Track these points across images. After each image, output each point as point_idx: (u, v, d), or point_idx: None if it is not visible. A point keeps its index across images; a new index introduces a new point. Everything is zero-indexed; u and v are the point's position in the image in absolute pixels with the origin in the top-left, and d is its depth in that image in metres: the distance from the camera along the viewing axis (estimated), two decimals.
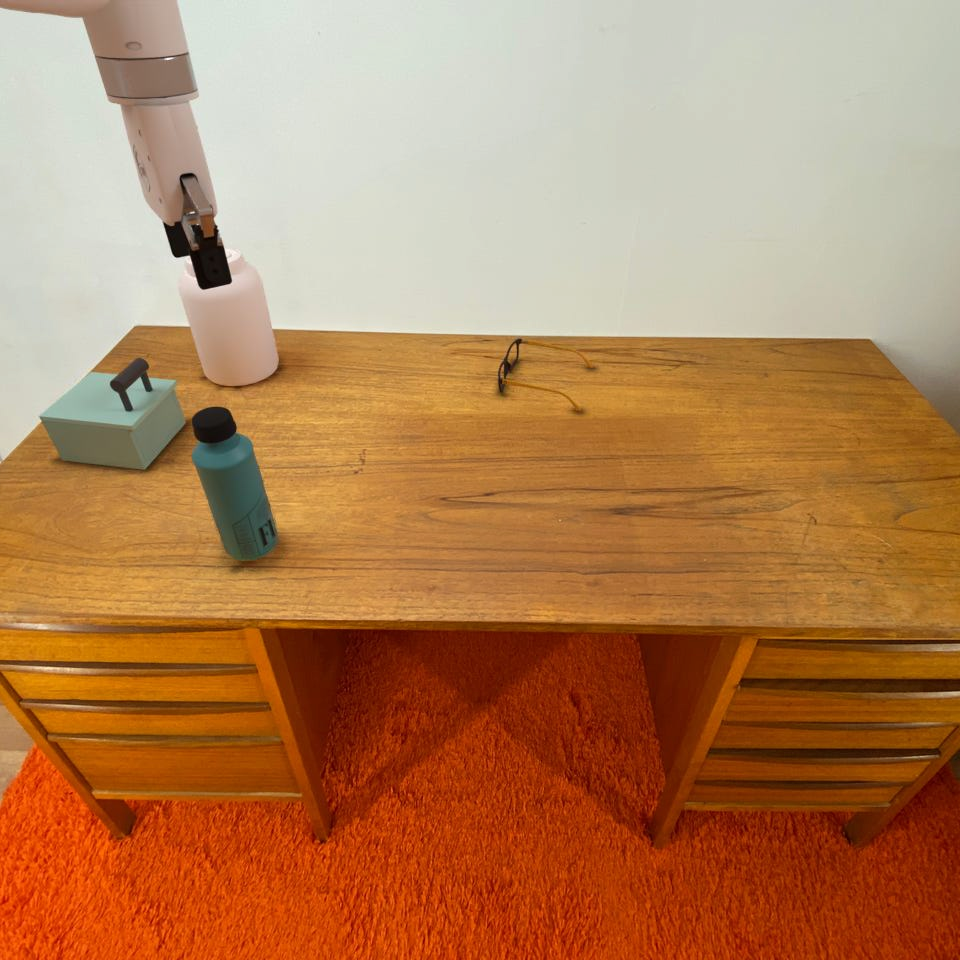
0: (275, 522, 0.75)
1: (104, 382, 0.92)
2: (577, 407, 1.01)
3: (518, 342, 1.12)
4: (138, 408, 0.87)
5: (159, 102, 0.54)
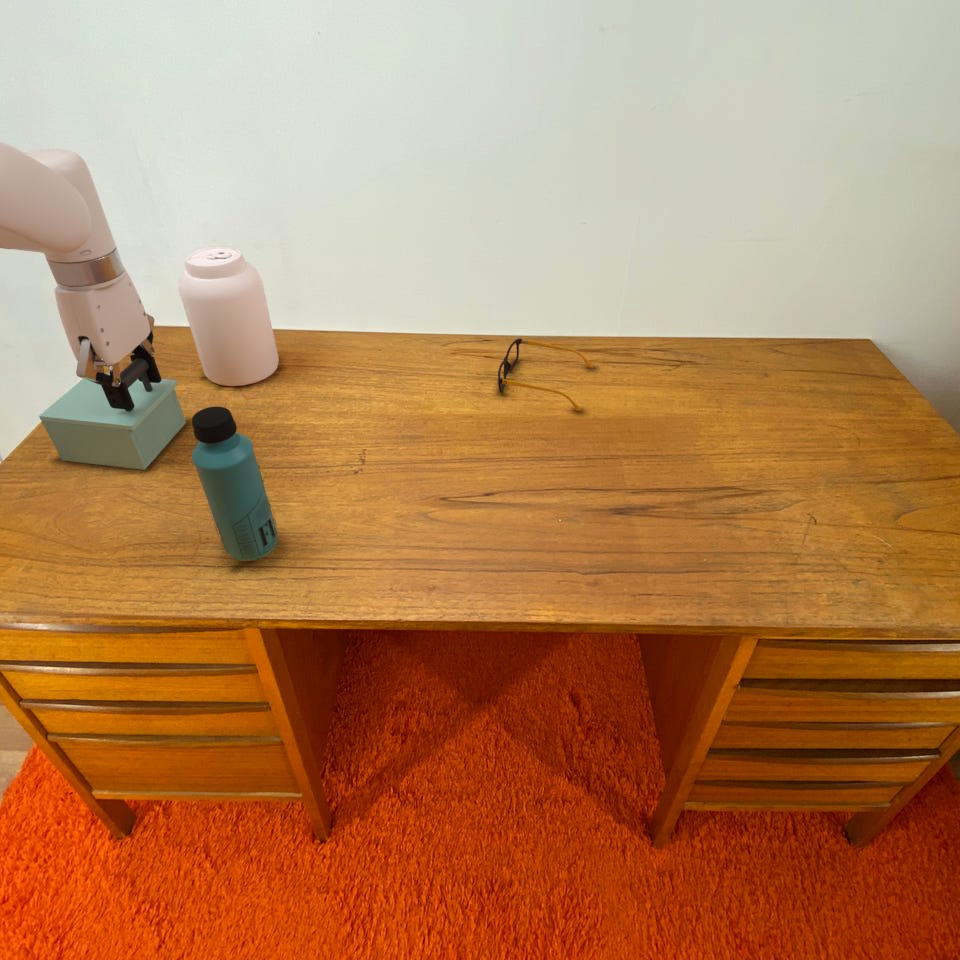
0: (275, 522, 0.75)
1: None
2: (577, 407, 1.01)
3: (518, 342, 1.12)
4: (138, 408, 0.87)
5: (68, 288, 0.74)
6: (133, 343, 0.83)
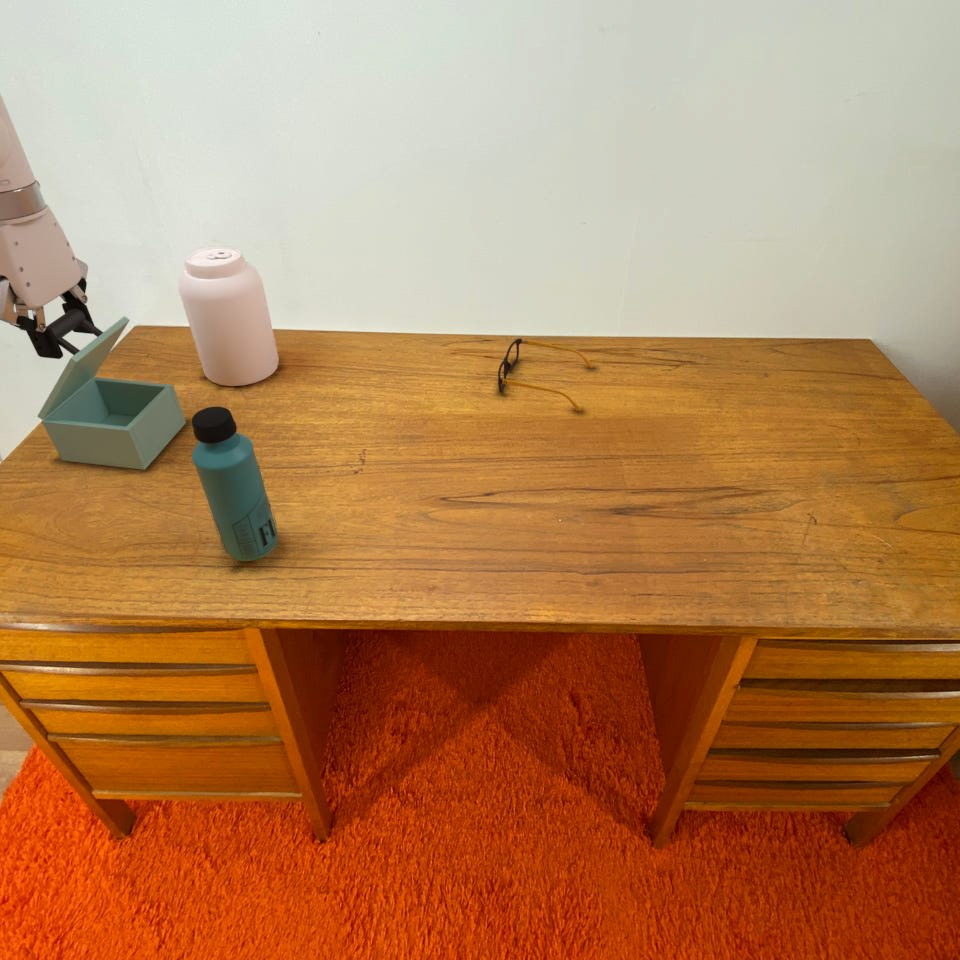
0: (275, 522, 0.75)
1: None
2: (577, 407, 1.01)
3: (518, 342, 1.12)
4: None
5: None
6: (60, 288, 0.79)
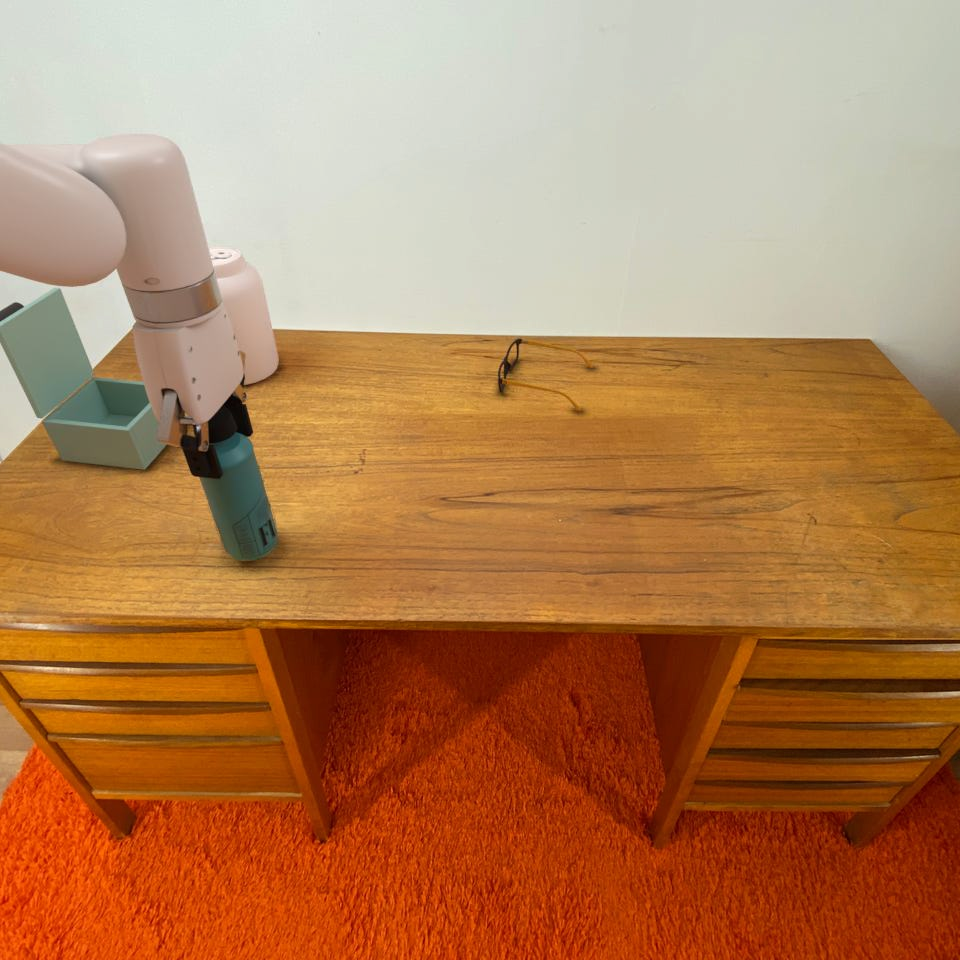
0: (275, 522, 0.75)
1: None
2: (577, 407, 1.01)
3: (518, 342, 1.12)
4: None
5: (151, 326, 0.54)
6: (226, 393, 0.63)
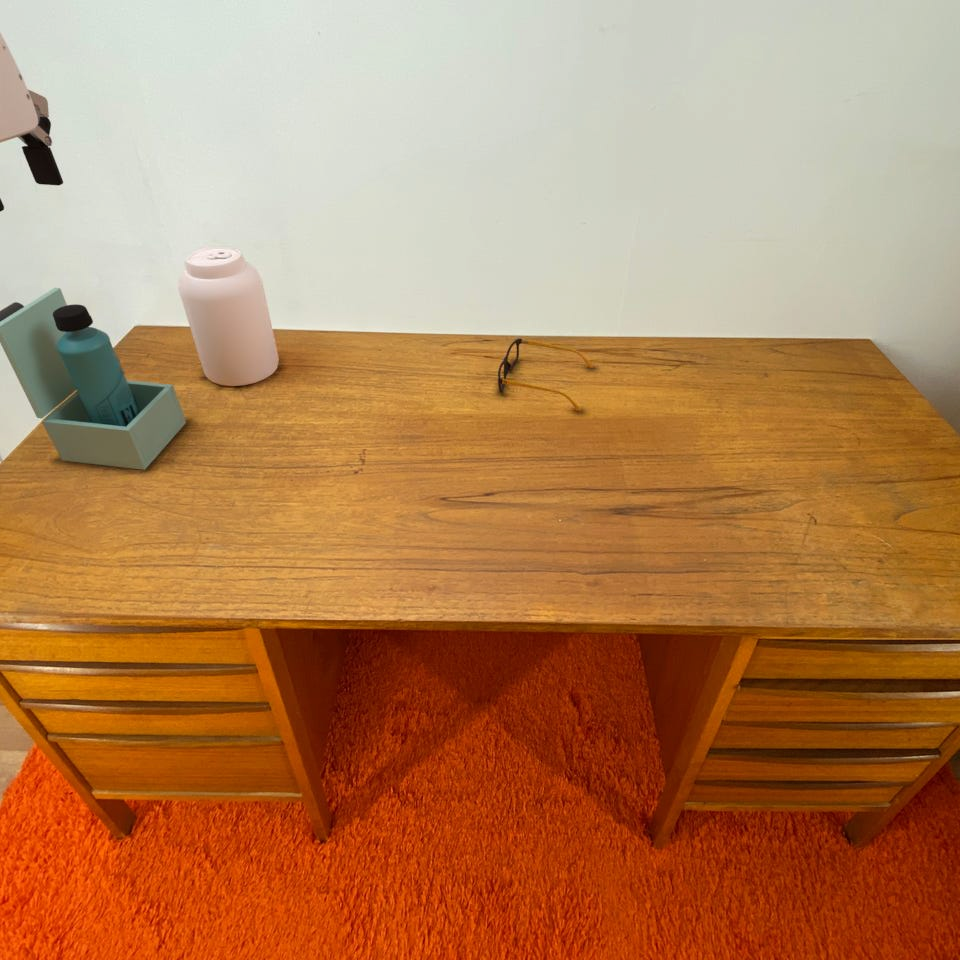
0: (138, 410, 0.91)
1: None
2: (577, 407, 1.01)
3: (518, 342, 1.12)
4: None
5: None
6: (11, 128, 0.67)
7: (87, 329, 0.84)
